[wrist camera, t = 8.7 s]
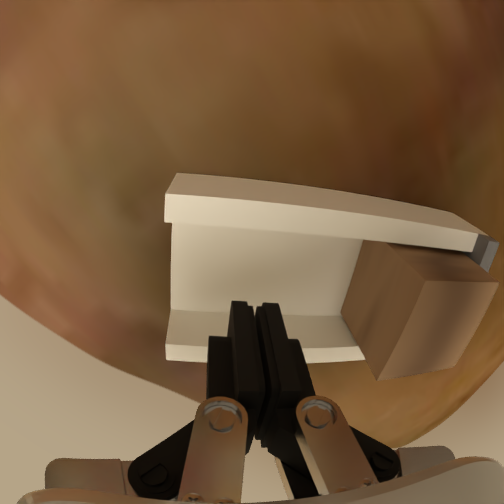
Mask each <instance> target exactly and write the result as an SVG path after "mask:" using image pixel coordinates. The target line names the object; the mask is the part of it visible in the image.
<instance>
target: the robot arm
mask: <svg viewBox="0 0 504 504" xmlns="http://www.w3.org/2000/svg"><path fill="white" fill-rule="evenodd" d="M254 435H255V439H256V440H261V447H263V448H265V447H267V448H268V452H269V453H271V454H272V455H274V456H275V462H276V466H277V468H278V471H279V474H280V477H281V480H282V483H283V486H284V488H285V491H286V494H287V496H288V499H289V500H285V501H273V502H259V503H258V502H257V503H241V494H242V483H243V472H244V461H245V455H246V454H247V453H248V452H249V450H250V446H251V443H252V440H253V437H254ZM17 504H504V467H503V466H502V465H501V464H500V463H499V462H498V461H496V460H494V459H491V458H487V457H477V456H474V457H464V458H458V459H455V457H454V454H453V452H452V451H451V450H450V449H448V448H447V447H445V446H429V447H412V448H411V447H410V448H398V449H397V450H392V449H391V448H390V447H388V446H386V445H384V444H382V443H380V442H378V441H377V440H375V439H373V438H371V437H369V436H367V435H365V434H364V433H362V432H360V431H358V430H356V429H355V428H353V427H351V426H349V425H348V423H347V421H346V419H345V417H344V415H343V413H342V411H341V409H340V408H339V407H338V405H337V404H336V403H335V402H333V401H332V400H331V399H328V398H326V397H323V396H316V395H315V391H314V388H313V384H312V381H311V378H310V374H309V371H308V368H307V364H306V361H305V358H304V354H303V351H302V348H301V344H300V342H299V340H298V339H288V336H287V332H286V328H285V325H284V321H283V317H282V313H281V310H280V306H279V304H278V303H267V302H263V303H262V306H257V307H256V312H255V316H254V309H253V306H249V305H248V303H247V301H233V300H232V301H231V307H230V315H229V324H228V332H227V337H226V336H209V338H208V353H207V391H206V400H205V401H203V402H202V403H201V404H200V405H199V407H198V409H197V412H196V415H195V419H194V420H193V421H191V422H190V423H189V424H187V425H186V426H184V427H183V428H182V429H180V430H179V431H177V432H176V433H174V434H173V435H171V436H170V437H168V438H167V439H165V440H164V441H162V442H161V443H159V444H158V445H156V446H155V447H153V448H152V449H150V450H148V451H147V452H145V453H144V454H142V455H141V456H139V457H137V458H136V459H135V460H134V461H121V460H120V459H72V458H59V459H55V460H53V461H51V462H50V463H49V464H48V466H47V467H46V471H45V489H42V490H37V491H33V492H30V493H27V494H26V495H24V496H23V497H22V498H21V499H20V500H19V501H18V502H17Z"/></svg>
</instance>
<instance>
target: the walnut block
mask: <svg viewBox="0 0 504 504" xmlns="http://www.w3.org/2000/svg"><path fill="white" fill-rule="evenodd" d="M499 283H500V282H498V281H497V280H496V279H495V278H494V277H493V276H491V275H490V274H489V273H488V272H487V271H485V270H484V269H483V268H482V267H480V266H479V265H478V264H477V263H475V262H474V261H473V260H472V259H470V258H469V257H468V256H466V255H465V254H464V253H463V252H461V251H458V250H450V249H442V248H434V247H426V246H417V245H408V244H400V243H391V242H382V241H372V240H363V242H362V246H361V249H360V252H359V256H358V259H357V262H356V266H355V269H354V272H353V275H352V278H351V282H350V285H349V288H348V291H347V294H346V297H345V300H344V303H343V306H342V309H341V311H340V313H341V315H342V317H343V319H344V321H345V322H346V324H347V326H348V328H349V330H350V331H351V333H352V335H353V337H354V339H355V341H356V343H357V344H358V346H359V348H360V350H361V352H362V354H363V356H364V358H365V359H366V361H367V363H368V365H369V367H370V369H371V371H372V373H373V375H374V377H375V379H376V381H379V380H386V379H393V378H399V377H406V376H411V375H417V374H422V373H428V372H433V371H438V370H442V369H447V368H451V367H454V366H455V364H456V363H457V361H458V360H459V358H460V356H461V355H462V353H463V351H464V350H465V348H466V346H467V345H468V343H469V341H470V340H471V338H472V336H473V334H474V333H475V331H476V329H477V327H478V325H479V324H480V322H481V320H482V318H483V316H484V314H485V312H486V310H487V308H488V306H489V304H490V302H491V300H492V298H493V296H494V294H495V292H496V290H497V288H498V285H499Z"/></svg>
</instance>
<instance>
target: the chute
mask: <svg viewBox="0 0 504 504" xmlns="http://www.w3.org/2000/svg"><path fill="white" fill-rule="evenodd" d="M164 222H169V223H172V241H171V312H170V318H169V324H168V330H167V337H166V343H165V346H166V360H177V361H191V362H207V353H208V338H209V336H226V337H227V332H228V324H229V315H230V307H231V301H232V300H233V301H247V303H248V305H249V306H253V309H254V316H255V312H256V307H257V306H262V303H263V302H267V303H278V304H279V306H280V310H281V313H282V317H283V321H284V325H285V328H286V332H287V336H288V339H298V340H299V342H300V344H301V348H302V351H303V354H304V358H305V361H306V363H322V362H340V361H354V360H366V359H365V358H364V356H363V354H362V352H361V350H360V348H359V346H358V344H357V343H356V341H355V339H354V337H353V335H352V333H351V331H350V330H349V328H348V326H347V324H346V322H345V321H344V319H343V317H342V315H341V313H340V311H341V309H342V306H343V303H344V300H345V297H346V294H347V291H348V288H349V285H350V282H351V278H352V275H353V272H354V269H355V266H356V262H357V259H358V256H359V252H360V249H361V246H362V242H363V240H372V241H382V242H391V243H400V244H408V245H417V246H426V247H434V248H442V249H450V250H458V251H461V252H463V253H464V254H465V255H466V256H468V257H469V258H470V259H472V260H473V261H474V262H475V263H477V264H478V265H479V266H480V267H482V268H483V269H484V270H485V271H487V272H488V271H489V269H490V266H491V264H492V261H493V259H494V256H495V254H496V251H497V248H498V246H499V242H497V241H496V240H495V239H493V238H492V237H490V236H489V235H487V234H486V233H484V232H482V231H481V230H479V229H478V228H476V227H475V226H473V225H472V224H470V223H468V222H467V221H465V220H464V219H462V218H460V217H459V216H457V215H455V214H454V213H452V212H447V211H443V210H439V209H434V208H429V207H425V206H420V205H415V204H410V203H405V202H400V201H395V200H390V199H384V198H379V197H373V196H368V195H362V194H356V193H350V192H344V191H337V190H331V189H324V188H317V187H310V186H303V185H296V184H288V183H280V182H272V181H263V180H254V179H245V178H235V177H224V176H213V175H201V174H188V173H177V174H176V176H175V177H174V179H173V181H172V183H171V184H170V186H169V188H168V190H167V192H166V193H165V214H164Z"/></svg>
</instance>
